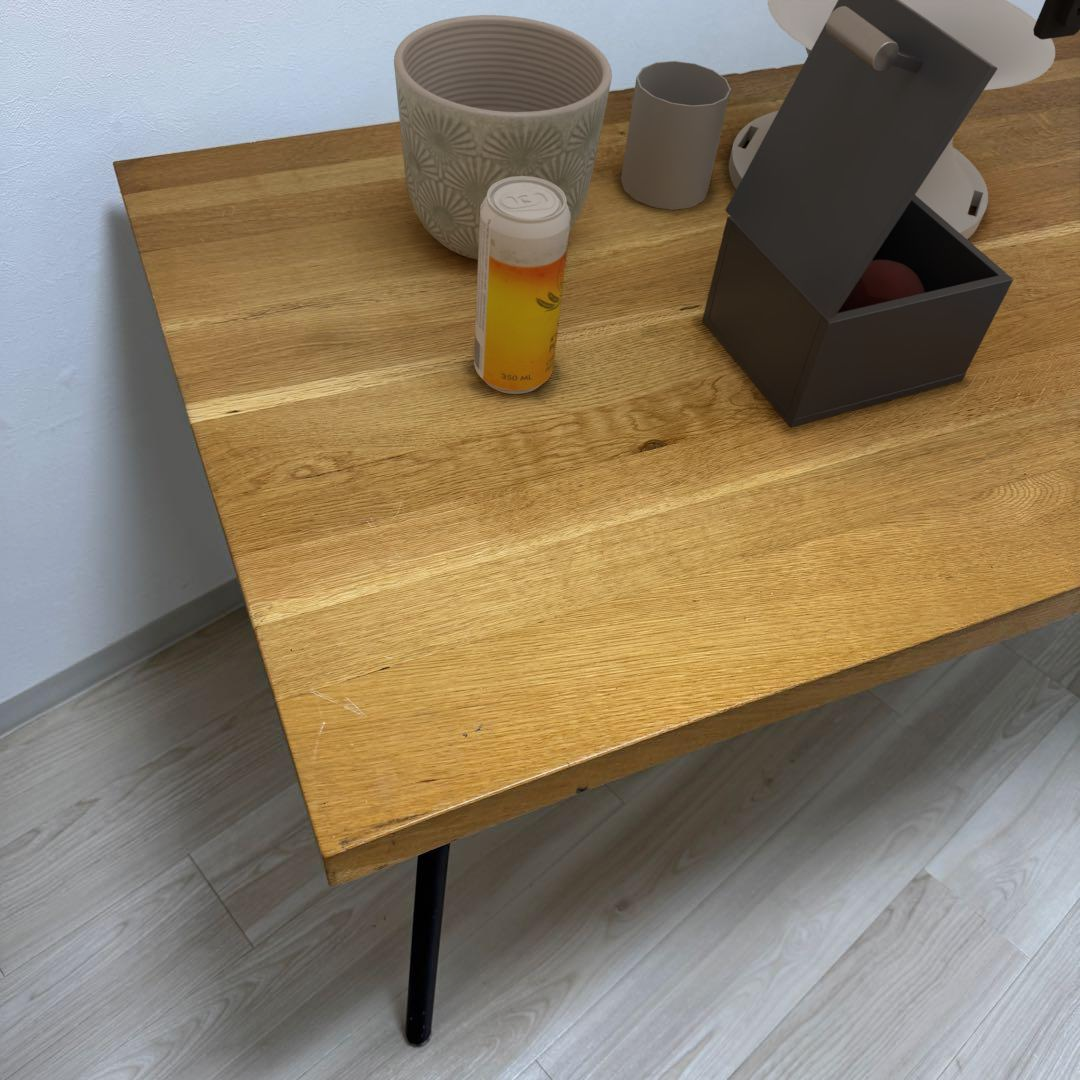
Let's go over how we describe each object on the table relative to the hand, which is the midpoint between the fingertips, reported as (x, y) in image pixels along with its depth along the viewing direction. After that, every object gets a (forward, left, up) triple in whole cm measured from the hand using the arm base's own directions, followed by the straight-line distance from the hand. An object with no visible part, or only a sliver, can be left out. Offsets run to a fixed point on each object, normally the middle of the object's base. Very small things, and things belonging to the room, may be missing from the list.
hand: (1000, 2), depth 64 cm
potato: (0, 0, -27) cm, 27 cm away
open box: (+2, +2, -27) cm, 27 cm away
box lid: (+6, +6, -9) cm, 12 cm away
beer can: (+23, +18, -27) cm, 40 cm away
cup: (+23, -14, -27) cm, 38 cm away
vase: (+7, -25, -27) cm, 38 cm away
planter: (+33, +2, -27) cm, 43 cm away
